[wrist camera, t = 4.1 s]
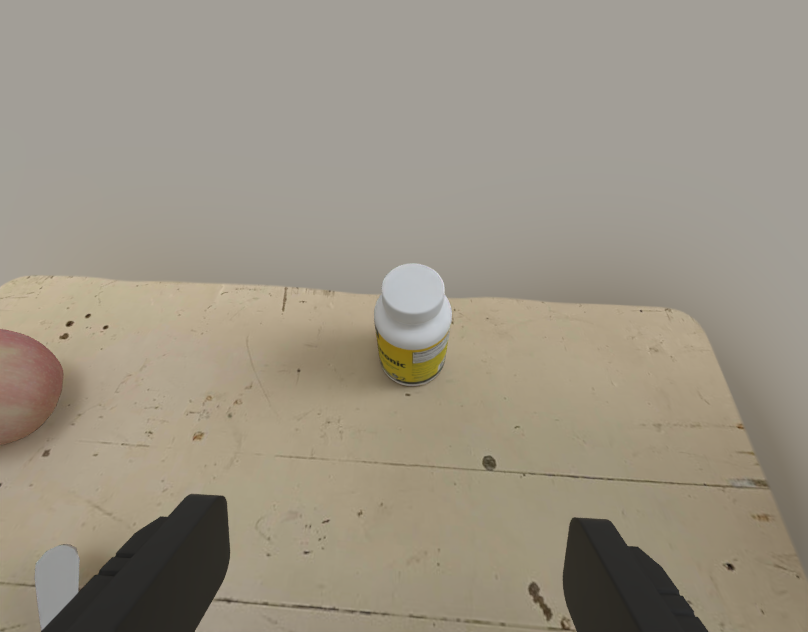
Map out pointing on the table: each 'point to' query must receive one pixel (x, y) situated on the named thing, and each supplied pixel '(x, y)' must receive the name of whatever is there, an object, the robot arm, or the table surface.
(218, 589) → the robot arm
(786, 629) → the table surface
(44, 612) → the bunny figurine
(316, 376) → the table surface
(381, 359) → the supplement bottle
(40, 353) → the apple
